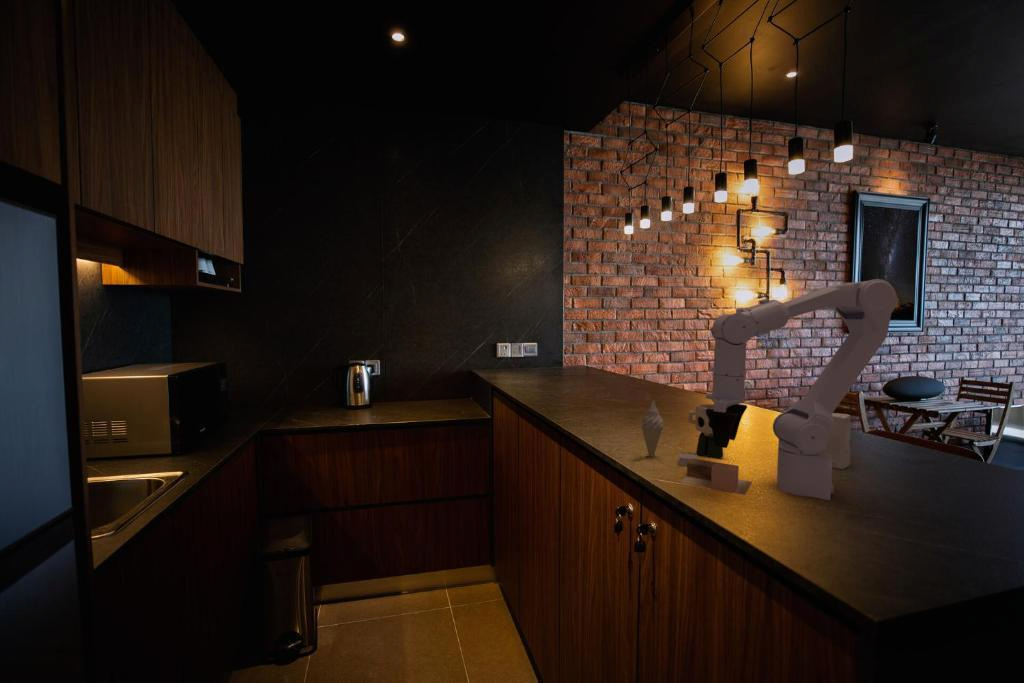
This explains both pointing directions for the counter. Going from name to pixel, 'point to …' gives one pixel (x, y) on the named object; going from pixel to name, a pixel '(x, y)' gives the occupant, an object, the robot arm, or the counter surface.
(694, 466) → the walnut bar
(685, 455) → the grey block
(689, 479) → the birch board
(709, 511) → the counter surface
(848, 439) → the skincare box
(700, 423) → the character mug
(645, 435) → the ice cream cone
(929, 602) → the counter surface
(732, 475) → the terracotta cube
